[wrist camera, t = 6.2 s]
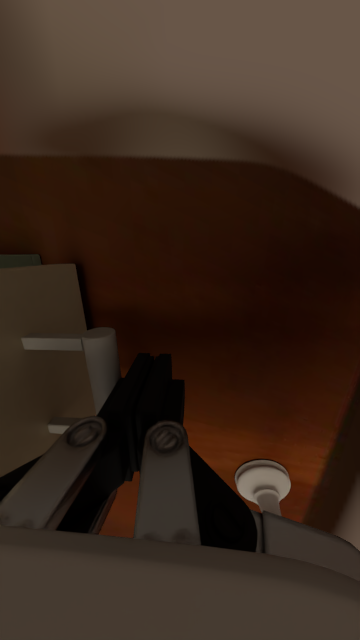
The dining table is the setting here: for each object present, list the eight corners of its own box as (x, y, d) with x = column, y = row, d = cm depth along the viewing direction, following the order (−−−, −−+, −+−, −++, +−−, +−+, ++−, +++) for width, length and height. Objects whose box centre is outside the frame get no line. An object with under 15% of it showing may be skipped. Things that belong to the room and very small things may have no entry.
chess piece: (298, 469, 18) (410, 708, 9) (272, 500, 20) (342, 729, 10) (249, 452, 18) (307, 677, 8) (226, 485, 19) (254, 704, 10)
